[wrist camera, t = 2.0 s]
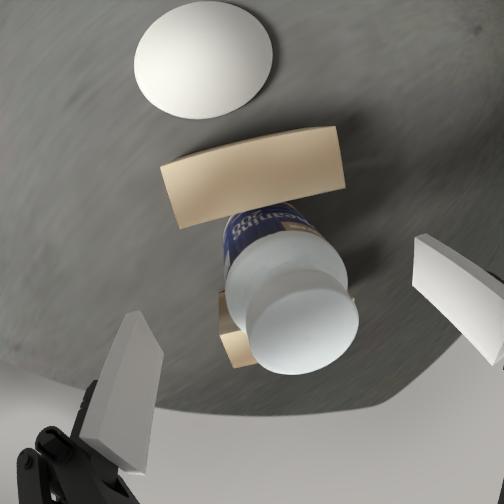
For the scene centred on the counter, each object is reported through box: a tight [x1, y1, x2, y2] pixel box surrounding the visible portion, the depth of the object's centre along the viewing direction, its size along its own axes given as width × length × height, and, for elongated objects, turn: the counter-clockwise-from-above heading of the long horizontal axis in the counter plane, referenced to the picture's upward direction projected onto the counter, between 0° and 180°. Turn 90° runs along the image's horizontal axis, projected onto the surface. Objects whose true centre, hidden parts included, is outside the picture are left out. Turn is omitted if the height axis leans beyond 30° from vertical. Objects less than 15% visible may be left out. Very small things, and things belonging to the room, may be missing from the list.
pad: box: [134, 1, 273, 119], centre depth 12 cm, size 8×8×1 cm
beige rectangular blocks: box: [160, 126, 354, 368], centre depth 16 cm, size 12×8×4 cm, turn 13°
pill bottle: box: [223, 202, 359, 375], centre depth 13 cm, size 5×5×10 cm
